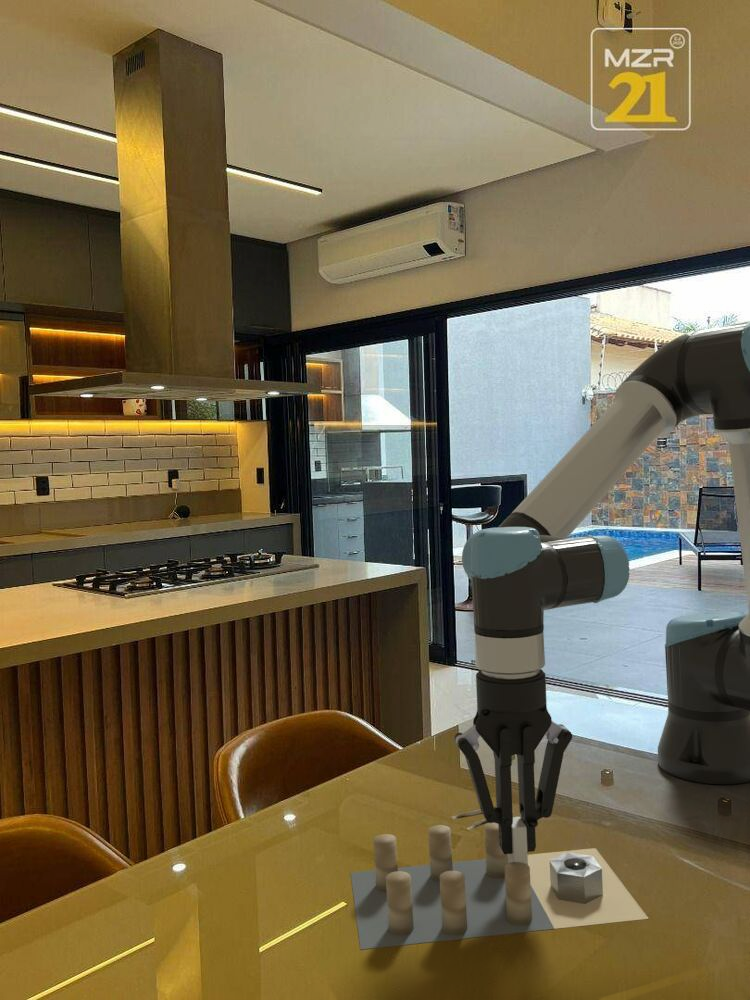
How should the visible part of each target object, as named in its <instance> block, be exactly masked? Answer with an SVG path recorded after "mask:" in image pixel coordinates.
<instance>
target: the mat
mask: <svg viewBox="0 0 750 1000" xmlns="http://www.w3.org/2000/svg"><path fill="white" fill-rule="evenodd" d="M567 852H569V853H575V854H582V855H589V856H593V857H594V858H595V860H596V861H597V862H598V864H599V865H600V866H601V868H602V883H603V895H602V896H600V897H598V898H596V899H594V900H592V901H590V902H588V903H586V904H581V903H576V902H570V901H564V900H558V898H557V896H556V895H555V893H554V891H553V889H552V888H551V882H550V860H551V859H554V858H556V857H558V856H560V855H562V854H565V853H567ZM527 855H528V866H529V867H530V884H531V906H532V921H531V922H530V923H529V924H527V925H514V924H511V923H510V922H509V921H508V920H507V906H506V885H505V877H503V878H493V877H490V876H488V875H487V873H486V858H482V859H473V860H471V859H470V860H462V861H461V860H460V861H452V866H453V871H459V872H461V873H463V874H464V876H465V892H466V911H467V931H466V932H465V933H463V934H460V935H449V934H447V933H445V932H444V931H443V930H442V914H441V895H440V881H435V880H433V879H432V878H431V874H430V864H422V865H421V864H420V865H413V866H412V865H411V866H402V867H398V871H403V872H407V873H409V874H410V876H411V890H412V908H413V926H414V929H413V931H412V932H411V933H409V934H407V935H394V934H392V933H391V932H390V931H389V925H388V907H387V892H384V891H380V890H378V889H377V888H376V877H375V869H370V870H361V871H352V872H349V873H350V879H351V881H350V882H351V889H352V895H353V902H354V903H353V904H354V911H355V917H356V918H355V919H356V920H355V921H356V927H357V933H358V940H359V941H358V942H359V949H360V950H361V951H362V950H372V949H381V948H389V947H400V946H410V945H420V944H428V943H437V942H439V943H440V942H446V941H447V942H448V941H457V940H463V939H464V940H465V939H474V938H484V937H493V936H495V937H496V936H502V935H512V934H513V935H515V934H521V933H530V932H540V931H541V932H542V931H549V930H550V931H551V930H557V929H567V928H568V929H570V928H577V927H579V928H580V927H588V926H596V925H598V926H599V925H603V924H604V925H605V924H615V923H626V922H633V921H634V922H635V921H643V920H649V917H648V916H647V914H646V913H645V911H643V909H642V908H641V907H640V905H639V904H638V902H637V901H636V899H634V897H633V896H632V894H631V893H630V892H629V891H628V889H627V888H626V887H625V885H624V884H623V882H622V881H621V880H620V878H619V877H618V875H617V874H616V873H615V872H614V870H613V869H612V867H610V865H609V864H608V862H607V861H606V860H605V859H604V857H603V856H602V854H600V852H599V851H598V849H597V848H596V847H595V848H584V849H583V848H581V849H572V850H563V851H554V852H553V851H551V852H542V853H532V854H527ZM508 863H509V858H508Z"/></svg>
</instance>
